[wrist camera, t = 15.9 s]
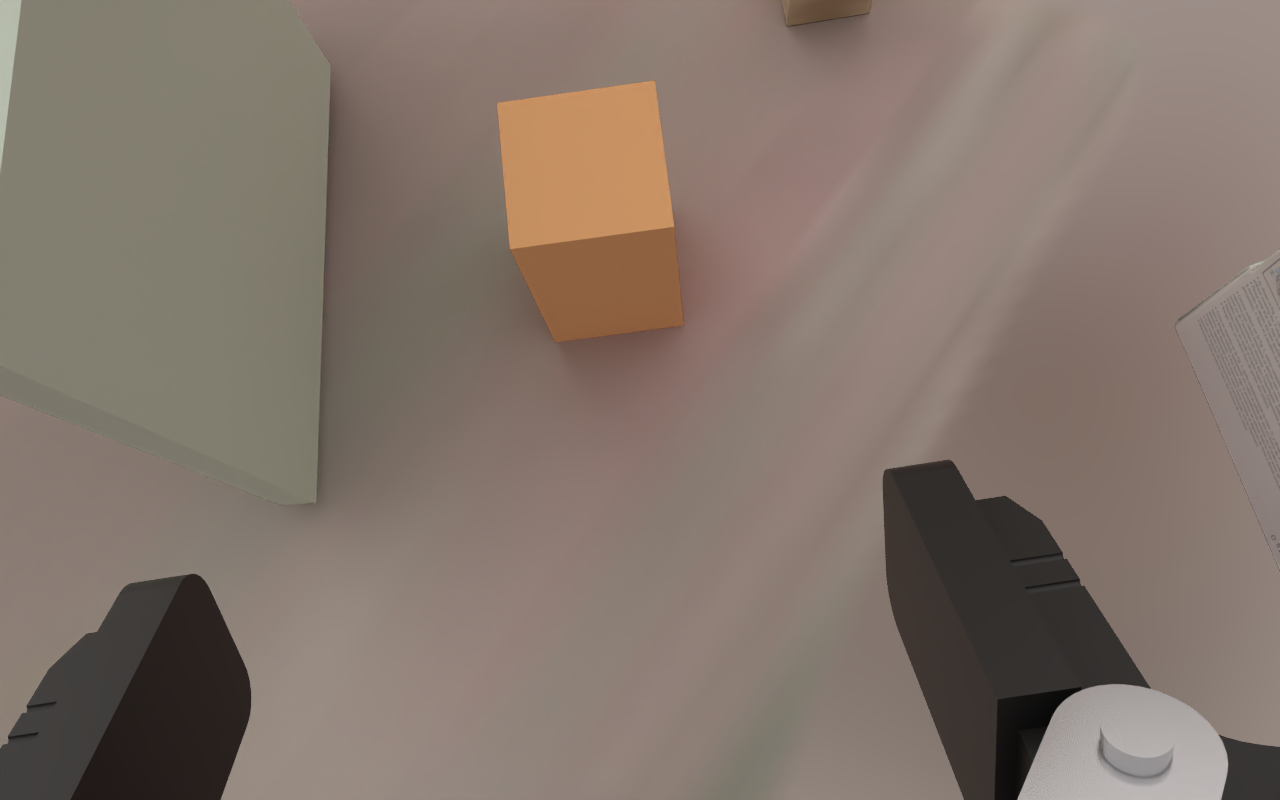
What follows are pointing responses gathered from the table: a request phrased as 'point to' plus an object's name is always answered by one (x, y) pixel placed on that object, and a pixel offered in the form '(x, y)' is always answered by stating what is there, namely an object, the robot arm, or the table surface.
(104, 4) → the door
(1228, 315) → the ink cartridge box
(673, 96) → the table surface
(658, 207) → the block
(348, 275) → the table surface
